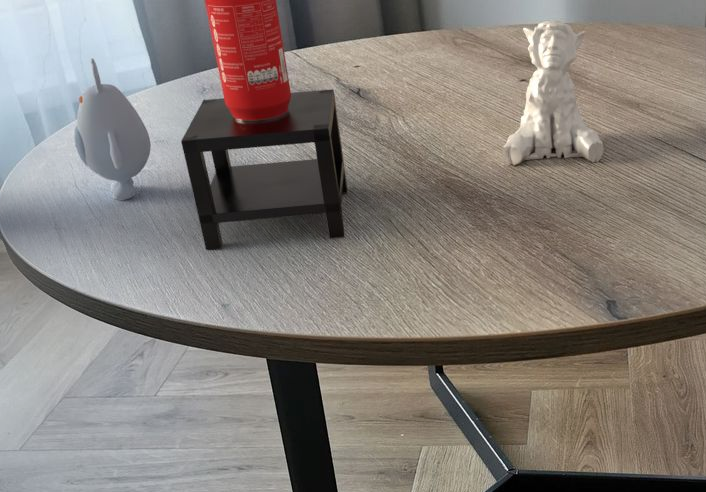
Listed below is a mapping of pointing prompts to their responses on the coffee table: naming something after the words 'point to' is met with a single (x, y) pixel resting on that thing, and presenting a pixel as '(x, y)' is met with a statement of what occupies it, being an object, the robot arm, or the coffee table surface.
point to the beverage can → (250, 58)
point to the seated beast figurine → (552, 101)
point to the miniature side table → (266, 165)
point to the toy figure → (111, 136)
